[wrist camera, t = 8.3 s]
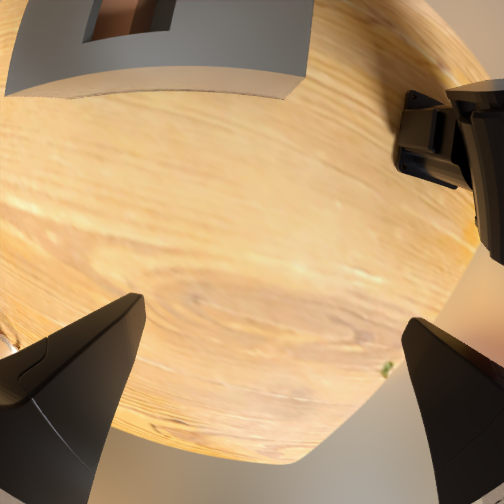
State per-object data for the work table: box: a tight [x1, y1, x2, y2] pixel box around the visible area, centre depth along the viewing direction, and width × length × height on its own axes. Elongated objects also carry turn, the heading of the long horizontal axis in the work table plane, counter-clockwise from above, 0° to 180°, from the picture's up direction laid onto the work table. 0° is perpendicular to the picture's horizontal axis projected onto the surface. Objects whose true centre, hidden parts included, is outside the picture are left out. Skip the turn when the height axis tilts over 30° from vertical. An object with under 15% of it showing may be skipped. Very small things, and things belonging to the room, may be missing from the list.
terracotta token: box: [91, 0, 158, 42], centre depth 11 cm, size 3×6×4 cm
